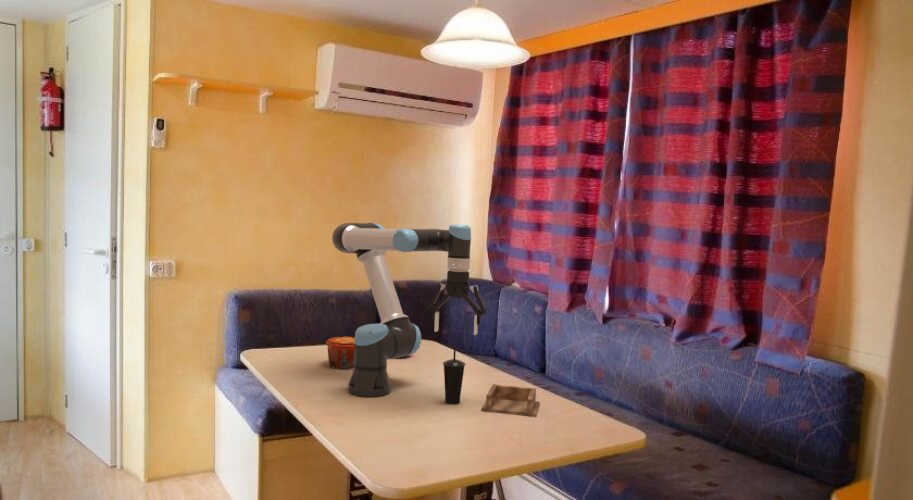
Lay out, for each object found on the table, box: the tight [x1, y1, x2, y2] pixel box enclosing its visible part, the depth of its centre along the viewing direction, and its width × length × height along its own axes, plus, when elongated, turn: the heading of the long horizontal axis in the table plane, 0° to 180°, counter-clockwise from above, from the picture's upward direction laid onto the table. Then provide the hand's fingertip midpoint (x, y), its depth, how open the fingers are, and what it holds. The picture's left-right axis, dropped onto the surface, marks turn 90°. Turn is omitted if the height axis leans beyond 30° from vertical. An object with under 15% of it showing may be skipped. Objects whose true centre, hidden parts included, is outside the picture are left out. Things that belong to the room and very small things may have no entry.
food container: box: [325, 336, 355, 370], centre depth 267 cm, size 16×16×11 cm
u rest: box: [480, 383, 541, 417], centre depth 219 cm, size 18×14×6 cm
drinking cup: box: [442, 344, 466, 405], centre depth 222 cm, size 8×8×20 cm
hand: (455, 332), depth 221 cm, fingers open, 13 cm apart
